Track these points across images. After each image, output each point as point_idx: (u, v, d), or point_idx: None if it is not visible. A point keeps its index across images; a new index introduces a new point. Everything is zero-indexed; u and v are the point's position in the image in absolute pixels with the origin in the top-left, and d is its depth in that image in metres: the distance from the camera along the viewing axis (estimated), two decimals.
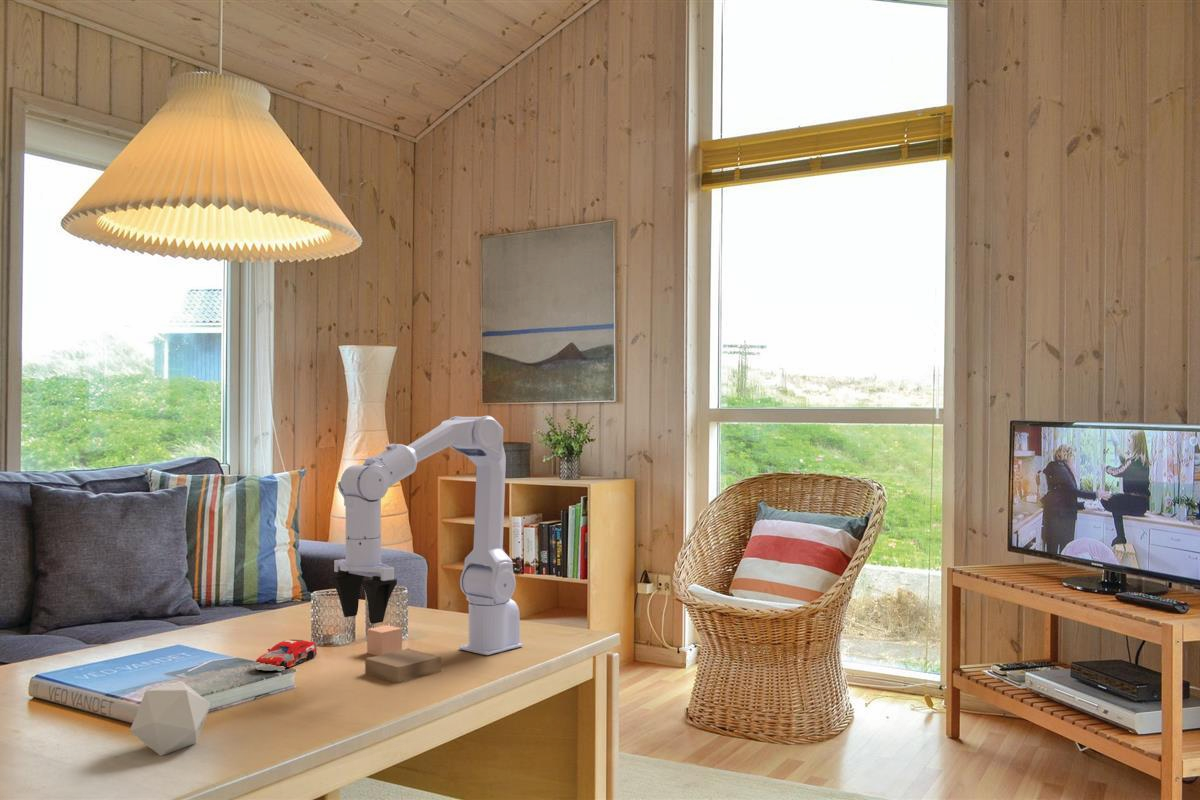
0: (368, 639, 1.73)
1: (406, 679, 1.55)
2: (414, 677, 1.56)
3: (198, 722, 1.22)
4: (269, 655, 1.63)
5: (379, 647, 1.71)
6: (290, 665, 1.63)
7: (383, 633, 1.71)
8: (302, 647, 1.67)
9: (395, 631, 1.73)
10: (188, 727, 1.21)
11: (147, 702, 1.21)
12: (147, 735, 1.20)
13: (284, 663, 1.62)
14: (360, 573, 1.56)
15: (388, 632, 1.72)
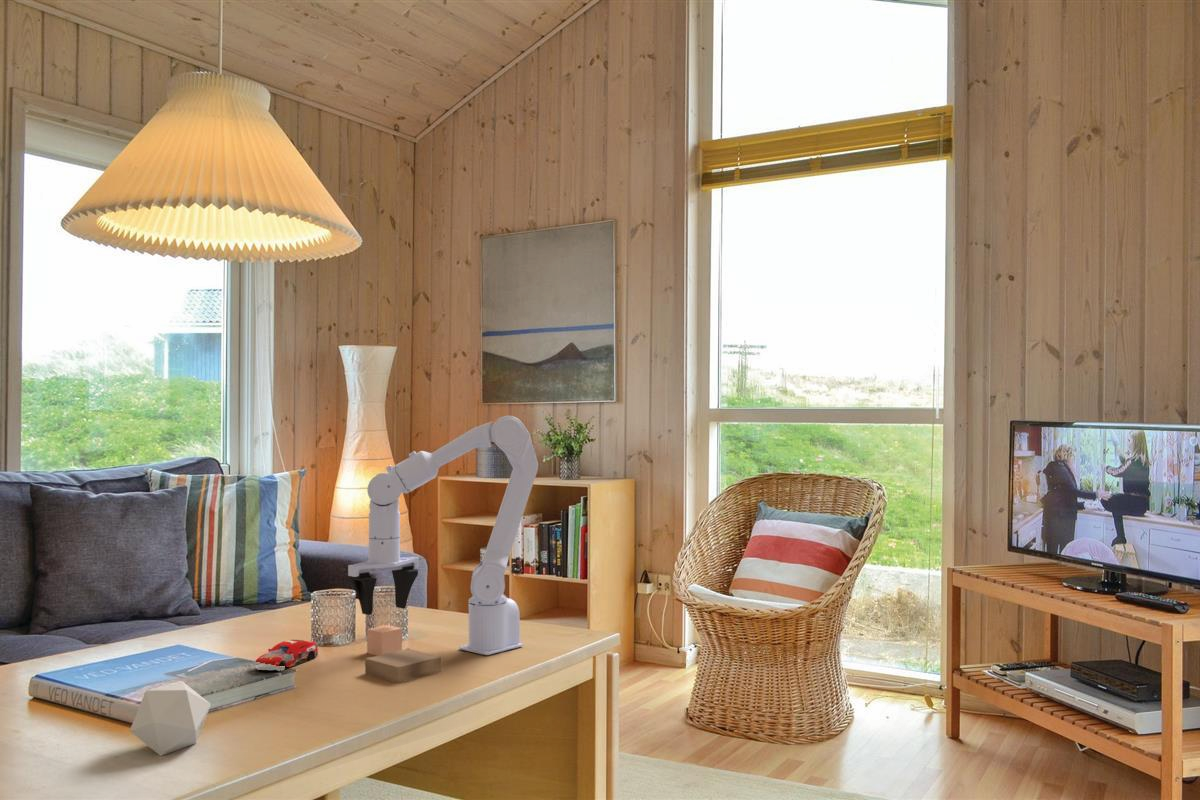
0: (368, 639, 1.73)
1: (406, 679, 1.55)
2: (414, 677, 1.56)
3: (198, 722, 1.22)
4: (269, 655, 1.63)
5: (379, 647, 1.71)
6: (290, 665, 1.63)
7: (383, 633, 1.71)
8: (302, 647, 1.67)
9: (395, 631, 1.73)
10: (188, 727, 1.21)
11: (147, 702, 1.21)
12: (147, 735, 1.20)
13: (284, 663, 1.62)
14: None
15: (388, 632, 1.72)
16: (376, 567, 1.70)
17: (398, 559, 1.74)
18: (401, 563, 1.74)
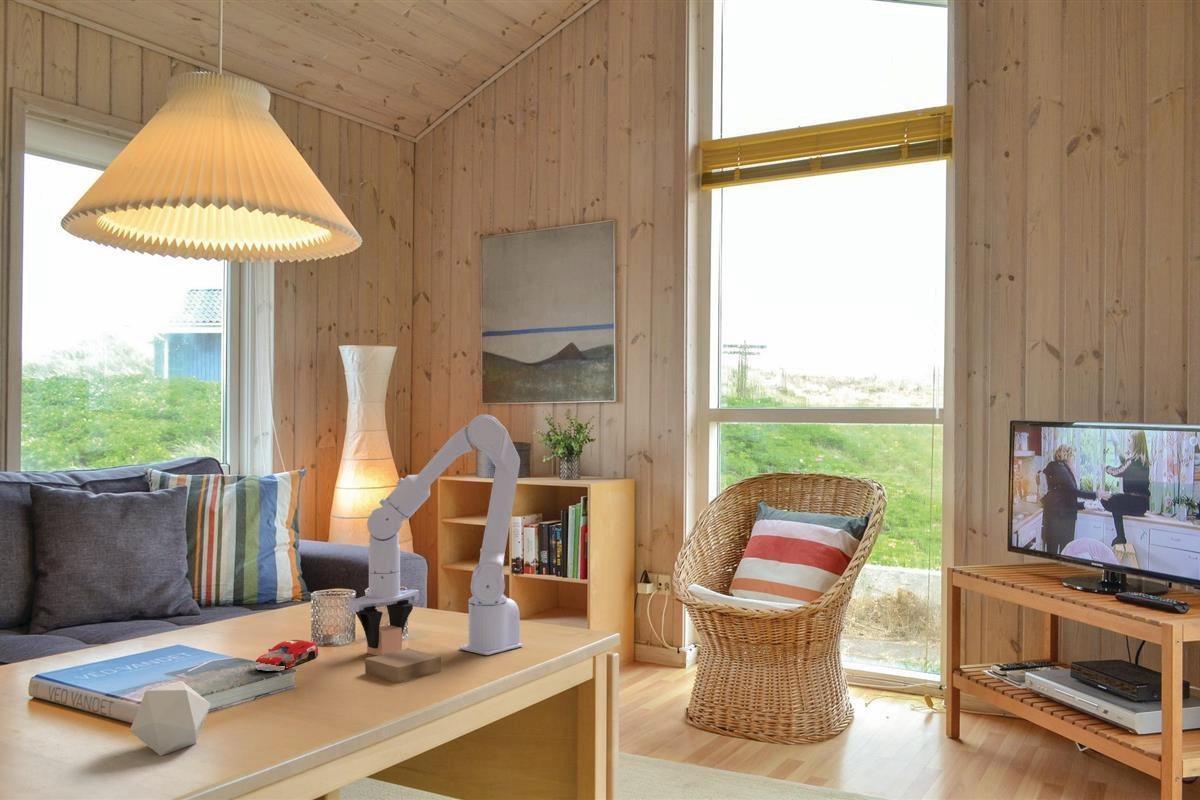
0: None
1: (406, 679, 1.55)
2: (414, 677, 1.56)
3: (198, 722, 1.22)
4: (269, 655, 1.63)
5: (379, 646, 1.71)
6: (290, 665, 1.63)
7: (383, 632, 1.71)
8: (303, 647, 1.67)
9: (395, 630, 1.73)
10: (188, 727, 1.21)
11: (147, 702, 1.21)
12: (147, 735, 1.20)
13: (283, 663, 1.62)
14: (384, 603, 1.74)
15: (388, 631, 1.72)
16: (376, 602, 1.70)
17: (398, 593, 1.73)
18: (401, 597, 1.74)
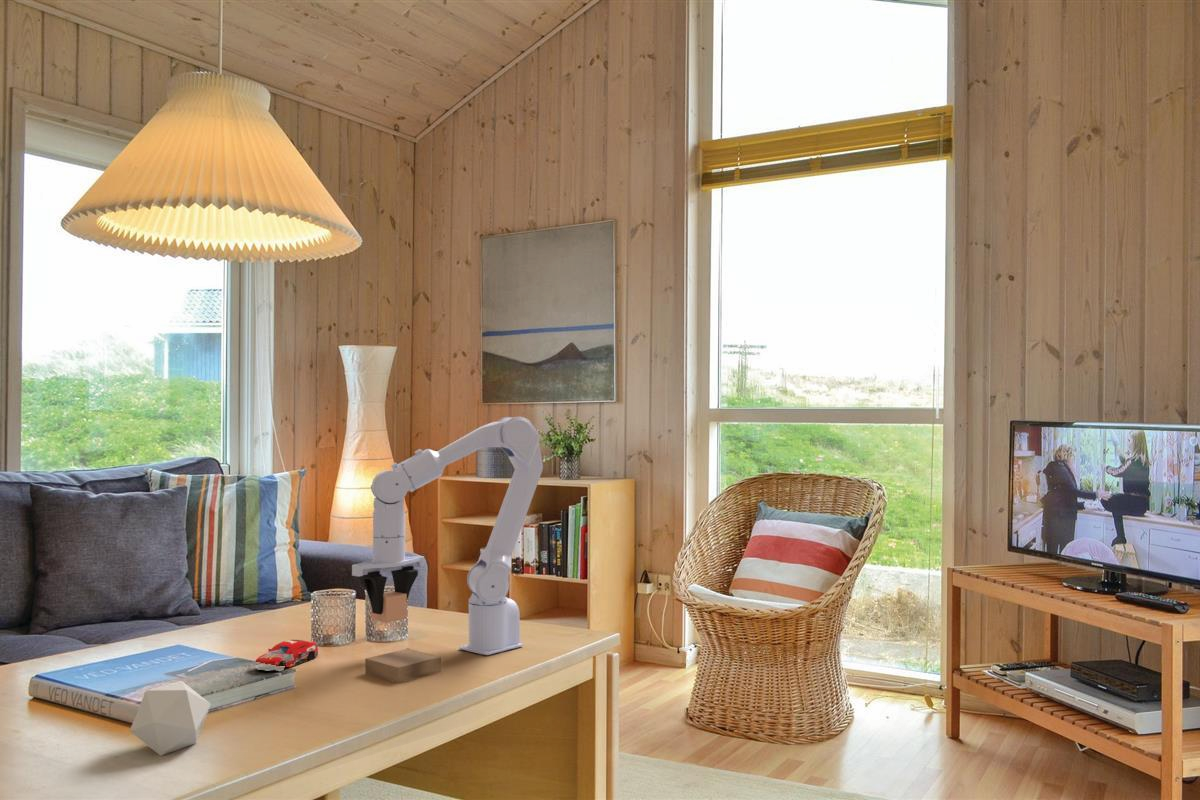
0: None
1: (406, 679, 1.55)
2: (414, 677, 1.56)
3: (198, 722, 1.22)
4: (269, 655, 1.63)
5: (383, 612, 1.68)
6: (289, 665, 1.63)
7: (387, 598, 1.68)
8: (302, 647, 1.67)
9: (399, 596, 1.69)
10: (188, 727, 1.21)
11: (147, 702, 1.21)
12: (147, 735, 1.20)
13: (283, 663, 1.62)
14: None
15: (392, 597, 1.68)
16: (380, 566, 1.67)
17: (403, 558, 1.70)
18: (406, 562, 1.70)
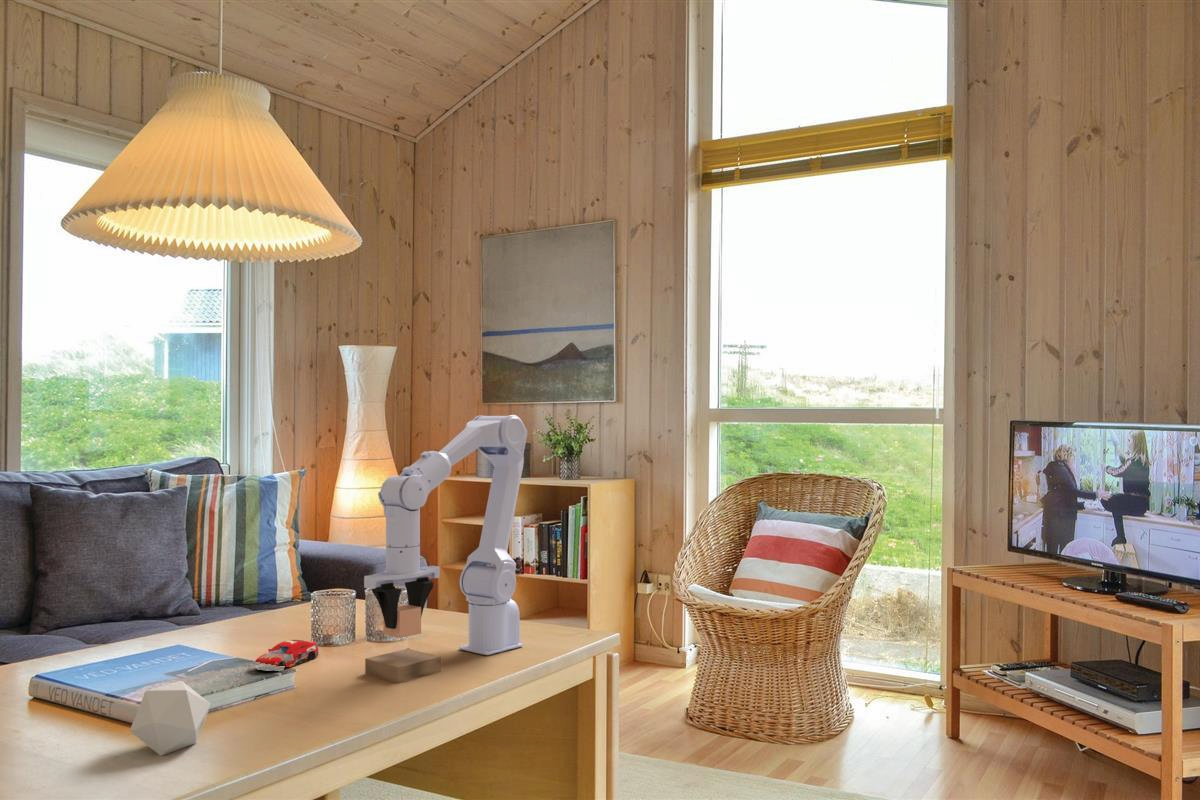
0: None
1: (406, 679, 1.55)
2: (414, 677, 1.56)
3: (198, 722, 1.22)
4: (269, 655, 1.63)
5: (397, 627, 1.57)
6: (289, 665, 1.63)
7: (401, 612, 1.57)
8: (303, 647, 1.67)
9: (413, 609, 1.59)
10: (188, 727, 1.21)
11: (146, 703, 1.21)
12: (147, 735, 1.20)
13: (283, 663, 1.62)
14: None
15: (406, 611, 1.58)
16: (394, 578, 1.56)
17: (418, 569, 1.60)
18: (421, 573, 1.60)
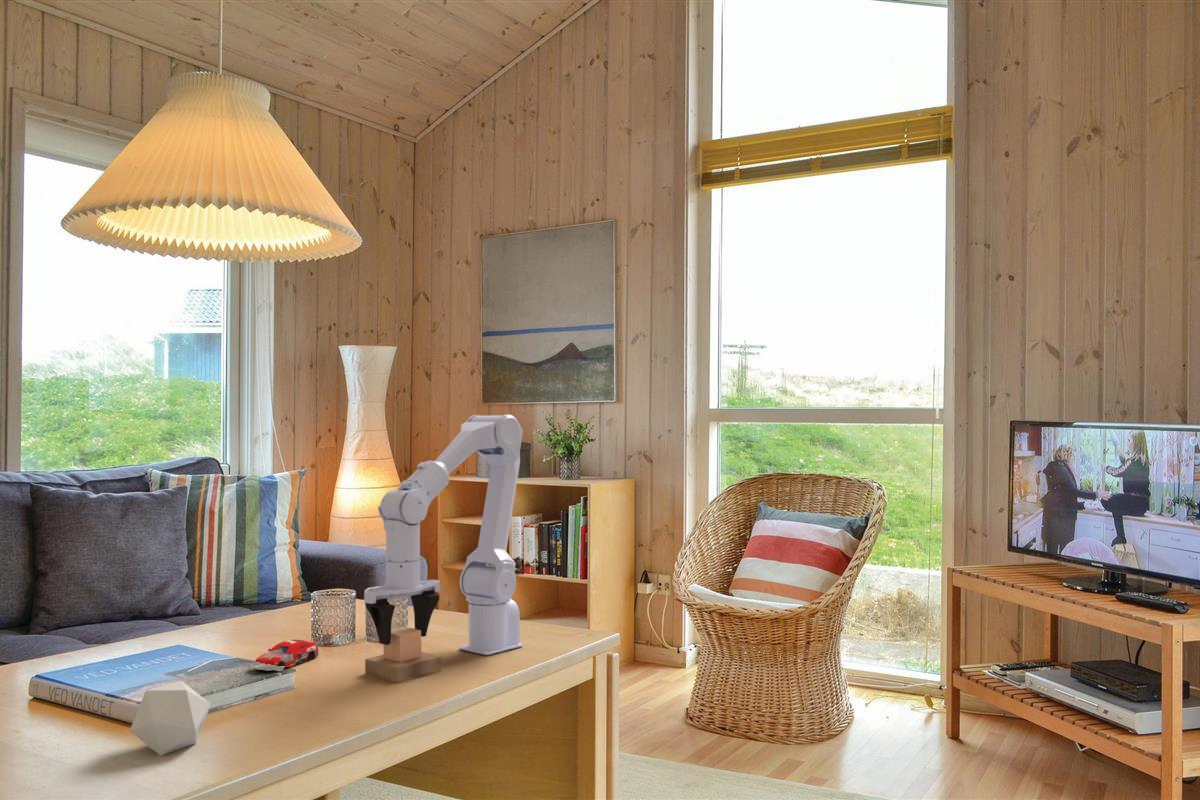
0: None
1: (406, 679, 1.55)
2: (414, 677, 1.56)
3: (198, 722, 1.22)
4: (268, 655, 1.63)
5: (397, 651, 1.57)
6: (289, 665, 1.63)
7: (401, 636, 1.57)
8: (302, 647, 1.67)
9: (413, 633, 1.59)
10: (188, 727, 1.21)
11: (146, 702, 1.21)
12: (147, 735, 1.20)
13: (283, 663, 1.62)
14: None
15: (406, 635, 1.58)
16: (394, 593, 1.56)
17: (418, 583, 1.59)
18: (421, 588, 1.60)
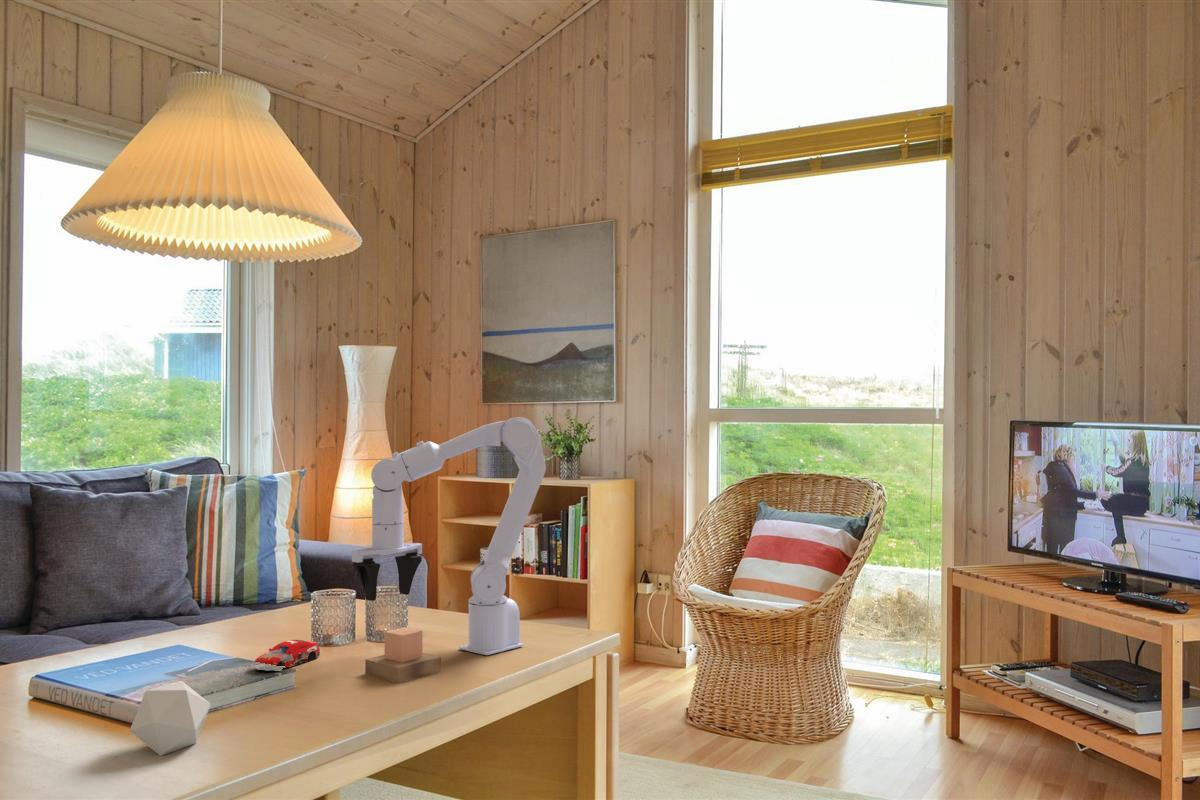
0: (386, 643, 1.59)
1: (406, 679, 1.55)
2: (414, 677, 1.56)
3: (198, 722, 1.22)
4: (268, 654, 1.63)
5: (399, 651, 1.57)
6: (289, 665, 1.63)
7: (403, 636, 1.57)
8: (303, 648, 1.67)
9: (415, 633, 1.59)
10: (188, 727, 1.21)
11: (146, 703, 1.21)
12: (147, 735, 1.20)
13: (282, 663, 1.62)
14: (388, 555, 1.74)
15: (408, 635, 1.58)
16: (380, 553, 1.70)
17: (402, 545, 1.73)
18: (405, 549, 1.73)
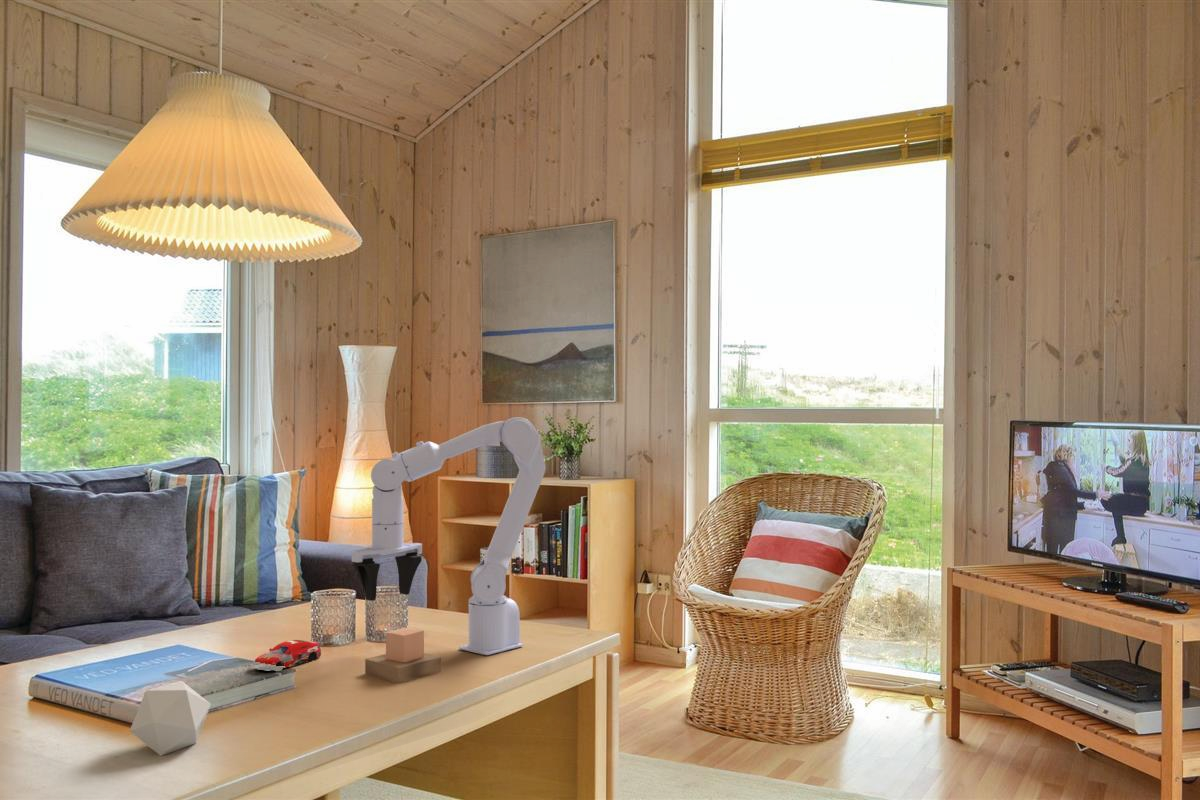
0: (387, 643, 1.59)
1: (406, 680, 1.55)
2: (414, 678, 1.56)
3: (198, 722, 1.22)
4: (268, 654, 1.63)
5: (401, 651, 1.57)
6: (288, 666, 1.63)
7: (405, 636, 1.57)
8: (303, 648, 1.67)
9: (417, 633, 1.59)
10: (188, 727, 1.21)
11: (147, 702, 1.21)
12: (147, 735, 1.20)
13: (281, 664, 1.62)
14: None
15: (410, 635, 1.58)
16: (379, 553, 1.70)
17: (401, 545, 1.73)
18: (404, 549, 1.73)
